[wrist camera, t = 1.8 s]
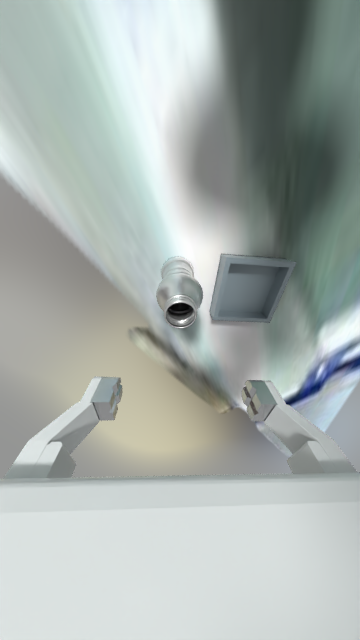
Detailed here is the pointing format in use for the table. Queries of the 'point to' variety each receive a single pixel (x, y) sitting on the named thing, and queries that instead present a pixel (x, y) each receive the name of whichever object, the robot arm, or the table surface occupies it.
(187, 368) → the table surface
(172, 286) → the plastic bottle
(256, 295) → the box
